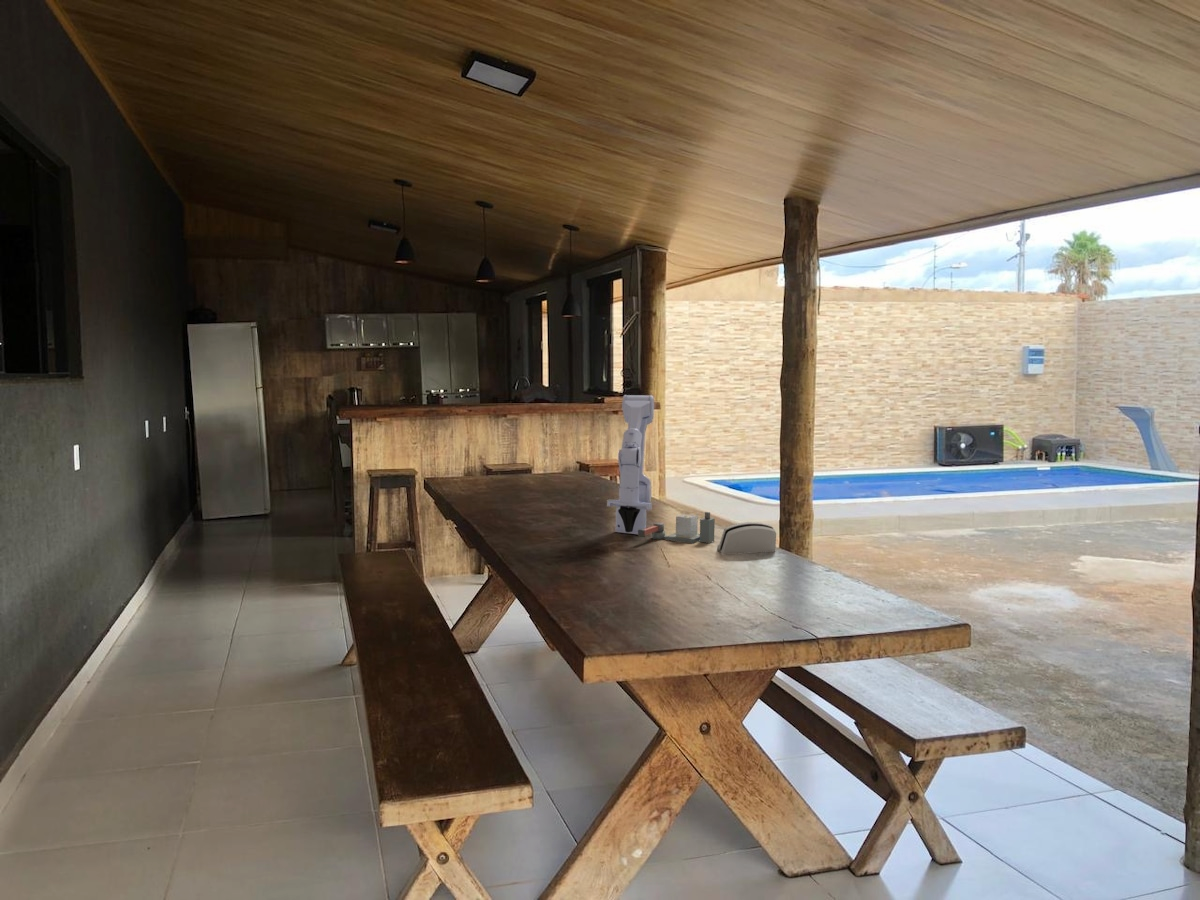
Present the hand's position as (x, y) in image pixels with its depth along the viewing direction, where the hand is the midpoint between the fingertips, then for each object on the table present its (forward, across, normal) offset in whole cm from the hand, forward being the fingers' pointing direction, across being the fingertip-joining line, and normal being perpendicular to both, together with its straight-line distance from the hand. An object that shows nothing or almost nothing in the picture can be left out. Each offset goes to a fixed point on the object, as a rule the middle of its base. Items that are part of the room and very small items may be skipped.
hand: (629, 531), depth 284 cm
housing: (+2, +14, +12) cm, 18 cm away
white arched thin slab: (+3, +37, +4) cm, 37 cm away
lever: (+1, +6, +3) cm, 7 cm away
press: (+3, +14, +12) cm, 18 cm away
